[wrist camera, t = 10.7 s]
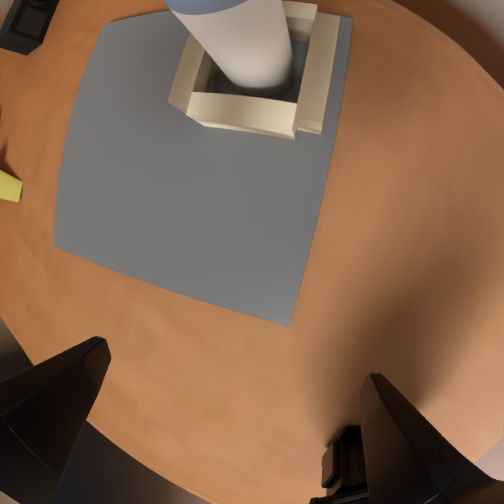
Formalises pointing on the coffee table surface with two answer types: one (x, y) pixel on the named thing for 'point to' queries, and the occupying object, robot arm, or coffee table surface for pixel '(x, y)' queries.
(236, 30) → the blue-domed white cylinder
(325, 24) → the cradle
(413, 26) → the coffee table surface
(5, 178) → the toy airplane
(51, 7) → the digital camera
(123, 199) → the jig board
